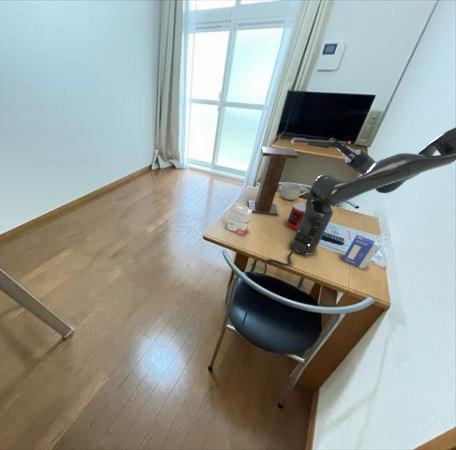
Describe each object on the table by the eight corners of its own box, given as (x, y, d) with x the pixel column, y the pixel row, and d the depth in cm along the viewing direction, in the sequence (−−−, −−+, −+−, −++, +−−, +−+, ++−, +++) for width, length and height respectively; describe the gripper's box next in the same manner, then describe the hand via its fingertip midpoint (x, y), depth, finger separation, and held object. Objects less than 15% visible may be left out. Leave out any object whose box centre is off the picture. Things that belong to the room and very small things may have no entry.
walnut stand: (274, 204, 139) (293, 148, 121) (278, 215, 130) (298, 156, 112) (247, 201, 142) (261, 145, 124) (248, 212, 133) (263, 153, 115)
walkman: (341, 260, 102) (355, 236, 95) (343, 256, 103) (357, 233, 97) (364, 269, 97) (380, 246, 90) (366, 266, 99) (381, 242, 92)
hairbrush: (342, 145, 113) (344, 140, 112) (346, 148, 109) (349, 143, 108) (290, 141, 117) (292, 137, 116) (293, 145, 113) (294, 140, 112)
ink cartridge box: (247, 231, 118) (254, 204, 110) (242, 235, 115) (249, 208, 107) (231, 224, 123) (237, 198, 115) (226, 228, 120) (231, 201, 112)
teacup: (277, 199, 145) (281, 186, 140) (279, 192, 153) (282, 180, 148) (303, 205, 140) (308, 192, 135) (304, 197, 148) (308, 184, 143)
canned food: (304, 224, 123) (312, 205, 117) (302, 232, 118) (310, 212, 112) (287, 219, 127) (294, 201, 120) (285, 227, 121) (292, 207, 115)
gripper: (361, 150, 116) (334, 129, 114) (376, 160, 105) (345, 137, 103) (346, 163, 120) (319, 143, 118) (359, 174, 109) (329, 152, 107)
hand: (332, 140), depth 111 cm, fingers closed on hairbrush, 2 cm apart
